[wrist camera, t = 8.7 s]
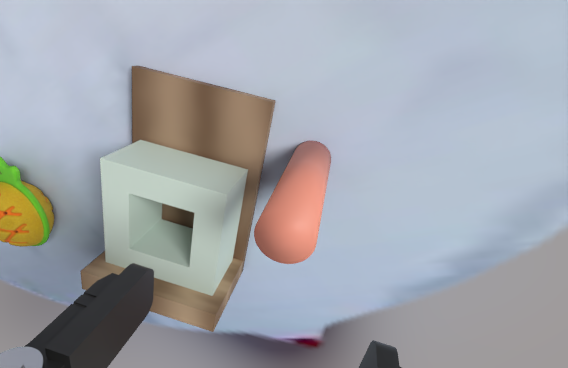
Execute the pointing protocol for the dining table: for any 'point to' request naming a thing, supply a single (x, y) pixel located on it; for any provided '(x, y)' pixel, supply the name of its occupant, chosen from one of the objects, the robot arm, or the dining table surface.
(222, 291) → the jig
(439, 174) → the dining table surface
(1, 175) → the toy pineapple
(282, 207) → the dowel
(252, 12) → the dining table surface
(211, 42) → the dining table surface
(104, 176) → the block
